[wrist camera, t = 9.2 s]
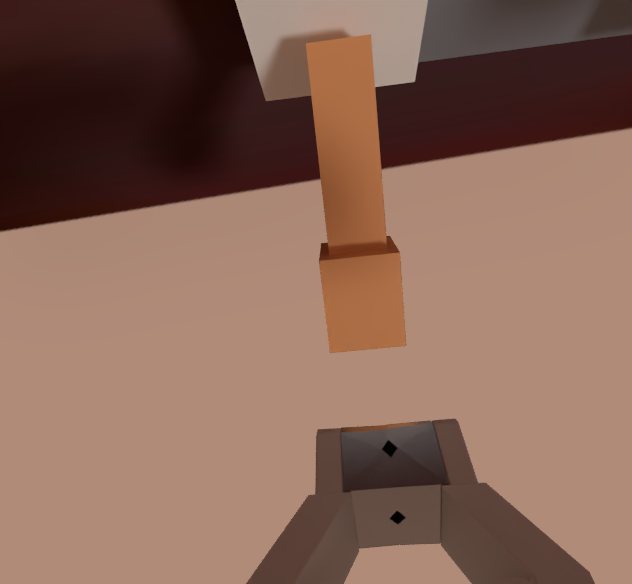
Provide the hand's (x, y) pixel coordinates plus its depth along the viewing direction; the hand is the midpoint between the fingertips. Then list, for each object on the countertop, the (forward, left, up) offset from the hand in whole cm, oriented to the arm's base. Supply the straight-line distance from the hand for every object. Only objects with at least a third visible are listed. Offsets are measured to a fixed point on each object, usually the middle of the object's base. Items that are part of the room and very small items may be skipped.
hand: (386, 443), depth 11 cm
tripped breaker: (-2, +3, -15) cm, 16 cm away
